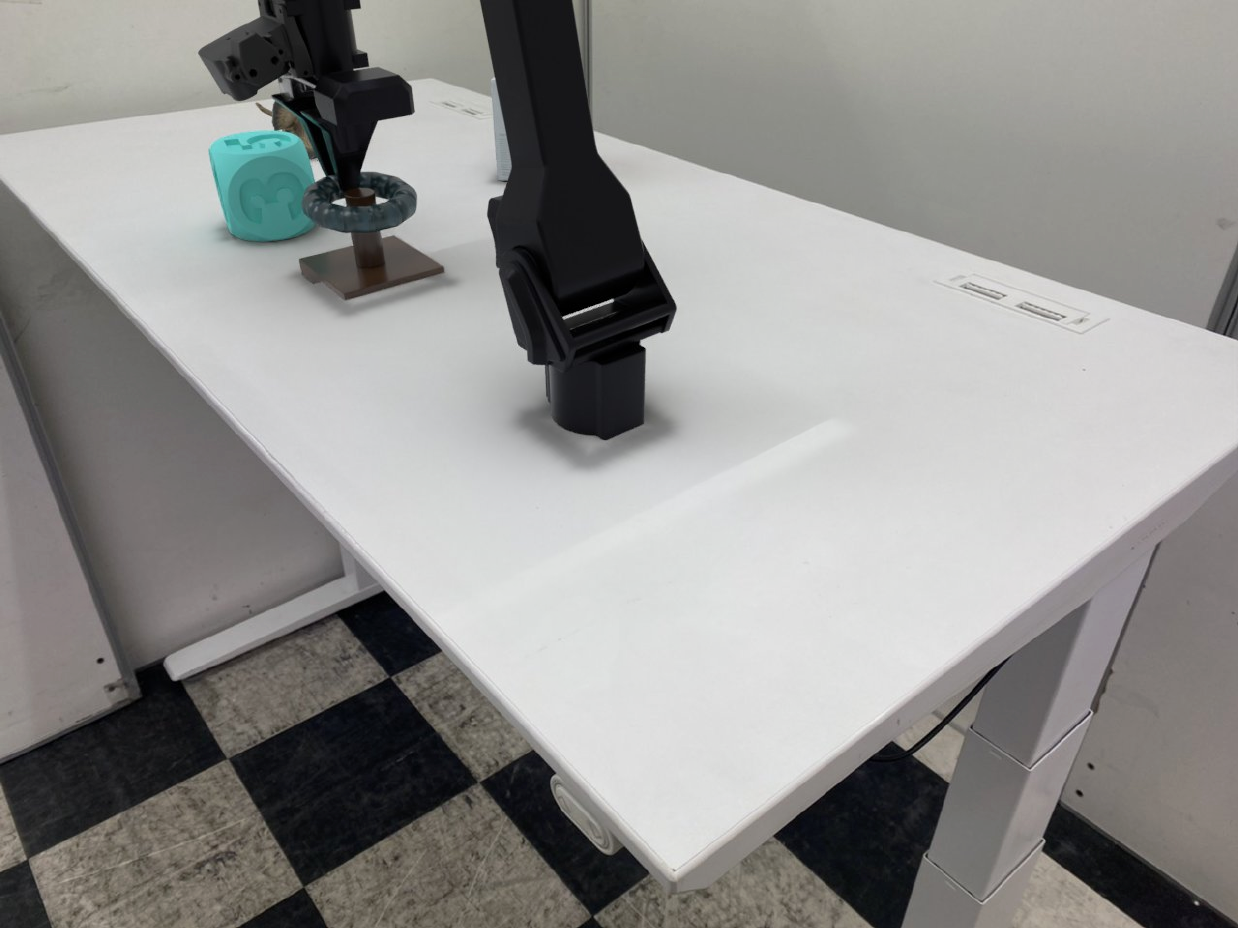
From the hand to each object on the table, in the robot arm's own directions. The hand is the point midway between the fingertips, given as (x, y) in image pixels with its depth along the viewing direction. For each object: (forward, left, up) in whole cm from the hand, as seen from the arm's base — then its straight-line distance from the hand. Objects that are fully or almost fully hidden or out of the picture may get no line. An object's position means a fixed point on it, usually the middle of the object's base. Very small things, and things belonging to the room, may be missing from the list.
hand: (341, 187), depth 77 cm
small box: (+13, -27, -7) cm, 31 cm away
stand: (-3, 0, -7) cm, 8 cm away
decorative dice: (+14, +2, -7) cm, 16 cm away
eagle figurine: (+37, -10, -7) cm, 39 cm away
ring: (-3, 0, 0) cm, 4 cm away
